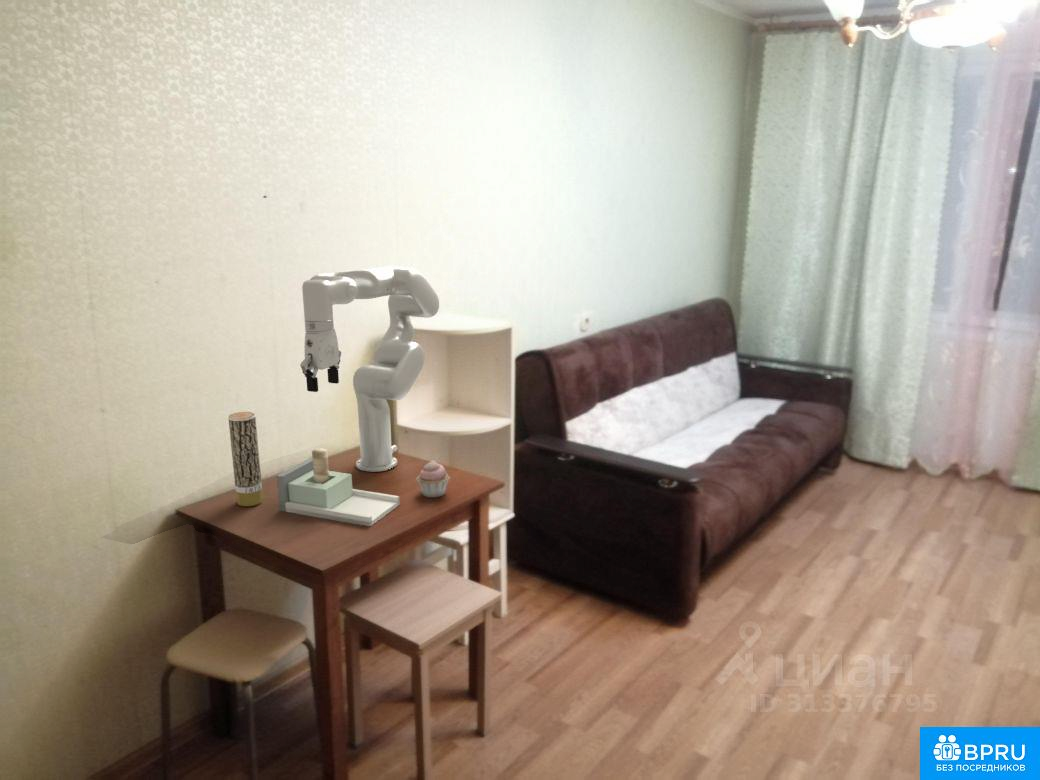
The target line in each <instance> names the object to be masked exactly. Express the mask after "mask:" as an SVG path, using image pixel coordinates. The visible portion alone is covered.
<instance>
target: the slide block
mask: <svg viewBox="0 0 1040 780" xmlns="http://www.w3.org/2000/svg"><path fill="white" fill-rule="evenodd" d="M352 489H353V475H352V473H344V472H339V471H334V470H333V471H332V470H329V481H328V482H326V483H324V484H319V483H314V474H313V470H311V471H310V472H308V473H306V474H304V475H302V476H301V477H299V478H297V479H295V480H293V481H292V482H290V483H288V491H289V502H293V503H299V504H304V505H310V506H316V507H322V508H328V509H331V508H333V507H334V506H336V505H338V504H339V503H341V502H342V501H344V500H345V499H347V498H348V497H350V496H351V495H353V490H352Z"/></svg>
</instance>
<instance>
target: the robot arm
mask: <svg viewBox="0 0 1040 780" xmlns="http://www.w3.org/2000/svg"><path fill="white" fill-rule="evenodd" d="M301 287H302V288H301V290H302V302H303V315H304V317H303V319H304V330H305V331H304V332H305V333H304V334H305V335H304V359H302V361H301V363H300V364H299V365H300V366H299V367H300V368H301V370H302V374H304V377H305V378H306V390H307V392H314V393H318V392H319V383H318V381H319V378H318V376H317V374H318V371H319V370H322V371H323V370H325V369H327V382H328V383H329V384H339V382H340V378H339V377H340V376H339V369H340V363H341V356H342V351H341V350H339V343H338V337H337V332H336V329H335V326H334V312H333V305H348V304H350V303H352V302H353V301H355V300H373V299H377V298H380V297H386V296H387V297H388V301H387V305H388V307H387V308H388V312H389V327H388V328H387V331H386V332H385V333H384V335H383V337H382V338H381V340H380V342H379V343H378V345H377V347H376V349H375V351H374V353H373V357H372V359H373V363H374V365H373V364H372V365H371V364H368V365H367V364H365V365H362V366H360V367H358V368H357V369H356V370H355V371H354V373H353V375H352V376H353V377H352V387H353V390H354V394H355V398H356V401H357V413H358V431H359V450H360V451H359V452H360V453H359V454H360V458H359V459H358V460H356V462H355V467H356V469H358V470H360V471H363V472H368V473H369V472H371V473H374V472H375V473H376V472H384V471H389V470H391V468H392V469H393V467H394V468H395V467H396V466H397V465H398V459H397V458H396V457H394V456H393V454H394V452H396V451H398V446H397V444H393V445H392V432H391V429H392V427H391V409H390V405H389V404H388V401H387V400H390V401H400V400H402V399H404V398H406V396H407V395H408V393H409V392H410V391H411V388H412V387H413V385H414V383H415V382H416V380H417V378H418V377H419V375H420V374H421V371H422V369H423V367H424V364H425V351H424V348H423V347H422V345H421V344H419V343H417V342H415V341H414V339H415V337H416V336H415V335H416V333H415V329H414V326H413V324H412V321H411V318H410V317H414V318H415V317H417V318H433V317H434V316H436V315H437V313H438V312H439V309H440V299H439V296H438V294H437V292H436V291H435V289H434V288H433V287H432V285H431V284H430V283H429V281H428V279H426V278H425V276H424V275H423V274H422V272H420V271H419V270H418V269H417V268H413V267H407V266H406V267H404V266H403V267H402V266H384V267H378V268H377V267H376V268H371V269H361V270H359V269H358V270H351V271H342V272H341V271H340V272H329V273H328V272H327V273H322V274H316V275H313V276H311V278H309V280H304V282H303V283H302V286H301ZM388 469H389V470H388Z"/></svg>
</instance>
